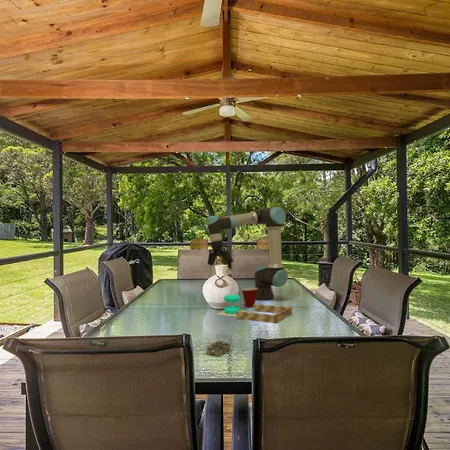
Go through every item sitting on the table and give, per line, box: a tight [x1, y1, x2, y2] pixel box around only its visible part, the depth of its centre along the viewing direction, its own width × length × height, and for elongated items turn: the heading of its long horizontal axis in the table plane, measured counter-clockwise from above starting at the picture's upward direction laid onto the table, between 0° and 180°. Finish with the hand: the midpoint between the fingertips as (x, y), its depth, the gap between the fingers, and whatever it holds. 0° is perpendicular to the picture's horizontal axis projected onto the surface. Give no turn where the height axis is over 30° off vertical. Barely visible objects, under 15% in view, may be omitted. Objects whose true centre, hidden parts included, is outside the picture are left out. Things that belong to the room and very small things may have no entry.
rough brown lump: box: [205, 339, 232, 357], centre depth 162 cm, size 11×8×4 cm
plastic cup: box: [241, 287, 258, 308], centre depth 252 cm, size 11×11×12 cm
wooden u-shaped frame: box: [235, 303, 293, 324], centre depth 224 cm, size 24×24×4 cm
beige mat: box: [215, 309, 249, 318], centre depth 234 cm, size 14×16×1 cm
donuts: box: [223, 294, 242, 314], centre depth 234 cm, size 10×10×10 cm
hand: (222, 274), depth 240 cm, fingers open, 13 cm apart
